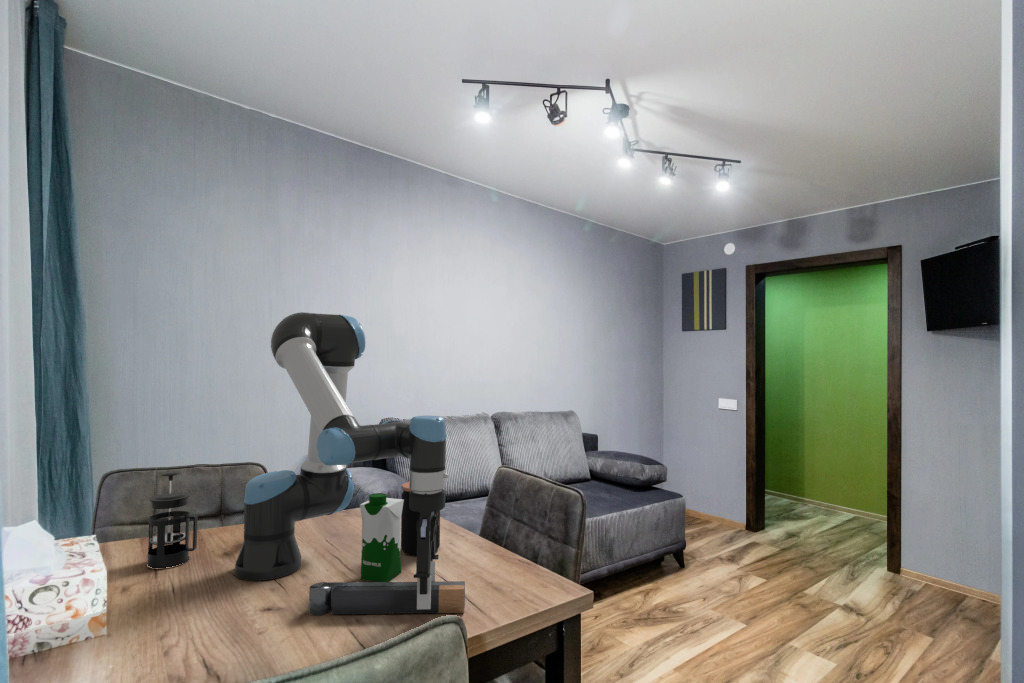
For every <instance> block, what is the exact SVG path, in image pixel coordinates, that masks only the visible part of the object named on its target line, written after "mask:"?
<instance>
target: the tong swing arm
mask: <svg viewBox="0 0 1024 683" xmlns="http://www.w3.org/2000/svg"><path fill="white" fill-rule="evenodd" d="M464 588H465V589H466V584H465V585H440V586H431V608H430V609H417V586H370V587H334V589H333V590H332V611H331V615H359V614H360V615H369V614H370V615H374V614H375V615H376V614H377V615H378V614H379V615H381V614H385V615H386V614H464V613H465V608H464Z"/></svg>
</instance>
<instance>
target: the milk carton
mask: <svg viewBox="0 0 1024 683" xmlns="http://www.w3.org/2000/svg"><path fill="white" fill-rule="evenodd" d="M403 502H404V500H403V499H402V498H392V497H387V494H386V493H383V492H380V493H379V492H376V493H371V494H369V495H368V500H366V501H364V502H363V503H360V504H359V508H360V513H361V558H360V559H361V560H360V561H361V564H360V580H362V581H365V582H391V581H392V580H393V579H394V578H395V577H397V576H399V575H400V574H401V573H402V558H401V553H402V552H401V551H402V549H401V515H402V508H403Z"/></svg>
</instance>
